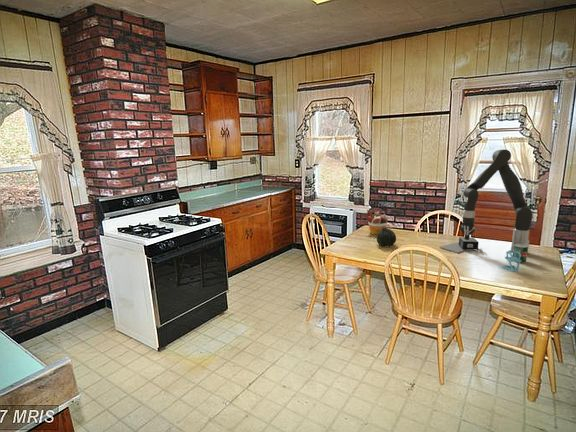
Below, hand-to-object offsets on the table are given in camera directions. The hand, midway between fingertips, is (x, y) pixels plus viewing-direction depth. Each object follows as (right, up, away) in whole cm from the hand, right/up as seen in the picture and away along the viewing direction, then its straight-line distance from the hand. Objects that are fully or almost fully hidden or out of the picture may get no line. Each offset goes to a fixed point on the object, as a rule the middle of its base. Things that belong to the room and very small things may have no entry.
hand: (466, 239), depth 252 cm
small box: (+3, -5, 0) cm, 5 cm away
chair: (+11, -17, -33) cm, 39 cm away
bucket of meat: (-52, +2, +53) cm, 74 cm away
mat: (-3, -7, +8) cm, 11 cm away
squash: (-53, -6, +20) cm, 57 cm away
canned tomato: (+24, -13, -21) cm, 34 cm away
